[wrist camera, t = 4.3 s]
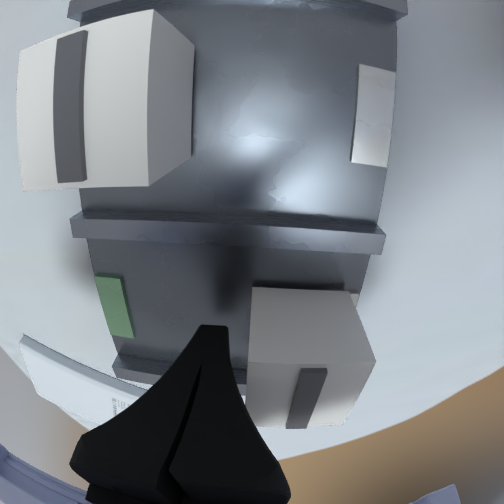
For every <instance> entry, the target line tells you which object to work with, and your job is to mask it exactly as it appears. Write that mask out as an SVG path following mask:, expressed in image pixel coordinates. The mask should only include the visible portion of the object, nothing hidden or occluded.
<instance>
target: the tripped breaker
mask: <svg viewBox="0 0 504 504" xmlns="http://www.w3.org/2000/svg"><path fill="white" fill-rule="evenodd" d="M375 363H376V360H375V357H374V354H373V352H372V349H371V346H370V344H369V341H368V338H367V336H366V333H365V330H364V328H363V325H362V323H361V320H360V318H359V315H358V313H357V310H356V308H355V305H354V303H353V300H352V298H351V295H350V293H349V291H330V290H304V289H282V288H263V287H252V301H251V318H250V335H249V351H248V368H247V385H246V401H245V406H246V408H247V411H248V413H249V415H250V417H251V419H252V421H253V423H254V424H255V426H262V427H286V429H305V428H307V427H310V426H330V425H343V424H344V422H345V420H346V419H347V417H348V415H349V413H350V412H351V410H352V408H353V406H354V404H355V402H356V401H357V399H358V397H359V395H360V393H361V391H362V389H363V387H364V385H365V383H366V381H367V379H368V377H369V375H370V373H371V371H372V369H373V367H374V365H375Z"/></svg>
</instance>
